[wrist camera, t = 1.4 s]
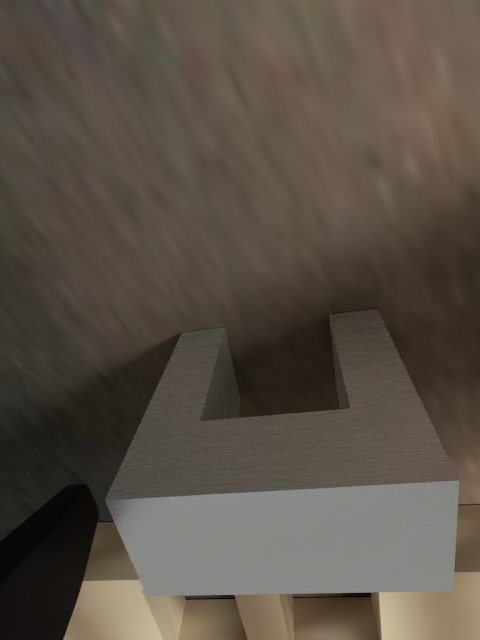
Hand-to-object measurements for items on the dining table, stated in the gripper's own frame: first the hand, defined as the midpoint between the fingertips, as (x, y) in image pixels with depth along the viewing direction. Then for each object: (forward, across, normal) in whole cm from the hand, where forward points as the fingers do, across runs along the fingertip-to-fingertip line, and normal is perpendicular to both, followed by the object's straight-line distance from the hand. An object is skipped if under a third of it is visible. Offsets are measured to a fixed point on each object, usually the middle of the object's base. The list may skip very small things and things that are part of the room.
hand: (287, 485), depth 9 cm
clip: (+5, 0, 0) cm, 5 cm away
